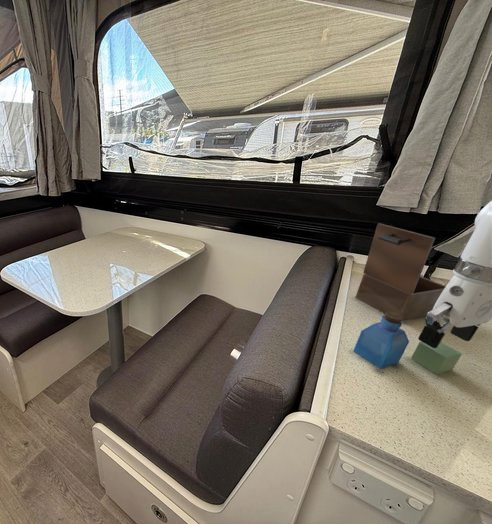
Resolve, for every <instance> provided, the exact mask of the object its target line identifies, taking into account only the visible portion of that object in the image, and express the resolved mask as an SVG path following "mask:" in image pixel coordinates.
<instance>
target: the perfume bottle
mask: <svg viewBox="0 0 492 524" xmlns="http://www.w3.org/2000/svg"><path fill="white" fill-rule="evenodd" d="M402 320H403V317H402V316H401V315H400V314H397V313H395V312H390V311H387V312H385V314H384V315H382V316H381V319H380V322H376V323H373V324H371V325H369V326H367V327H366V328H364V329H362V330H361V331H360V334H359V336H358V338H357V341H356V343H355V346H354V347H353V352H354V353H356V354H357V355H359V356H360V357H362V358H363V359H365V360H366V361H367V362H369V363H371V364H372V365H373V366H375V367H377V368H378V369H379V370H382V369H384V368H387V367H390V366H393V365H396V364H398V363H400V361H401V359H402V357H403V355H404V353H405V351H406V349H407V348H408V346H409V343H410V340H409V338H408V336H407V333H406V331H405V330H404V329H402V328H401V327H402V325H403V321H402Z"/></svg>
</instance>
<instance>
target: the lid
mask: <svg viewBox="0 0 492 524" xmlns="http://www.w3.org/2000/svg"><path fill="white" fill-rule="evenodd" d="M435 240H436V237H434V236H430V235H426V234H423V233H418V232H415V231H411V230H407V229H403V228H399V227H395V226H392V225H388V224H384V223H380V222H379V223H377V225H376V228H375V232H374V234H373V239H372V242H371V245H370V247H369V248H370V249H369V252H368V256H367V258H366V262H365V265H364V269H363V272H362V273H363V275H364V274H367V275H369V276H371V277H373V278H376V279H378V280H380V281H382V282H385V283H387V284H389V285H391V286H393V287H396V288H398V289H400V290H402V291H405V292H407V293H409V294H413V293H414V290H415V288H416V285H417V283H418V280H419V278H420V276H422V273H423V270H424V267H425V265H426V264H427V263H426V262H427V260H428V258H429V255H430V252H431V250H432V247H433V245H434V243H435Z"/></svg>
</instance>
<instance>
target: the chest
mask: <svg viewBox="0 0 492 524" xmlns="http://www.w3.org/2000/svg"><path fill="white" fill-rule="evenodd" d="M446 286H447V285H444V284H443V283H440V282H436V281H434V280H432V279H429V278H427V277H424V276H422V275H420V278H419V280H418V283H417V285H416V288H415V290H414V293H413V294H409V293H407V292H405V291H402V290H400V289H398V288H396V287H393V286H391V285H389V284H387V283H385V282H382V281H380V280H378V279H376V278H373V277H371V276H369V275H367V274H364V273H363V275H362V278H361V280H360V282H359V286H358V289H357V291H356V294H355V297H354V298H355V299H357V300H359V301H361V302H362V303H364V304H366V305H367V306H369V307H372V308H373V309H375V310H376V311H379V312H381V314H382V313H383V315H385V312H387V311H390V312H395V313H397V314H400V315H401V316H402V317H403V320H402V321H401V322H405V321H409V320H414V319H415V320H416V319H421V318H426V317H427V313H428V312H430V311H431V310H433V307H434V305H435V303H436V302H437V300H438V298H439V296H440V295H441V293H442V292H443V290H444V289H445V287H446Z"/></svg>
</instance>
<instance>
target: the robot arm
mask: <svg viewBox="0 0 492 524" xmlns="http://www.w3.org/2000/svg"><path fill="white" fill-rule="evenodd" d="M452 273H453V274H454V275H453V276H452V277H451V279H450V280H449V281H448V283H447V284H446V285H445V286H446V287H445V289H444V290H443V292H442V293H441V295H440V296H439V298H438V300H437V302H436V303H435V305H434V307H433V310H431V311H430V312H428V313H427V316H426V317H425V320H424V324H423V329H422V330H421V331H420V334H419V335H418V340H419V342H424V343H425V344H427V345H429V346H431V347H432V348H437V347H438V345H439V344H440V342H442V340H443V338H444V337H445V335H446V333H445V331H447V330H448V328H450V327H451V326H452V325H453V327H452V328H451V330H450V334H451V335H454V336H455V337H456V338H459V339H461V340H463V341H465V342H470V341H471V340H472V339H473V338H474V335H475V334H476V332H477V331H478V328H479V327H480V326H481V325H482V324H487V323H488V322H489V321H491V320H492V200H490V201H489V202H488V203H487V204H486V205H484V206H483V208H481V210H480V211H479V212H478V213H477V215H476V216H475V219H474V230H473V232H472V234H471V236H470V238H469V240H468V241H467V244H466V246H465V247H464V249H463V251H462V253H461V254H460V257H459V259H458V260H457V262H456V264H455V266H454V268H453V270H452ZM439 321H441V322H443V324H442V325H441V323H440V322H439Z"/></svg>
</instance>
